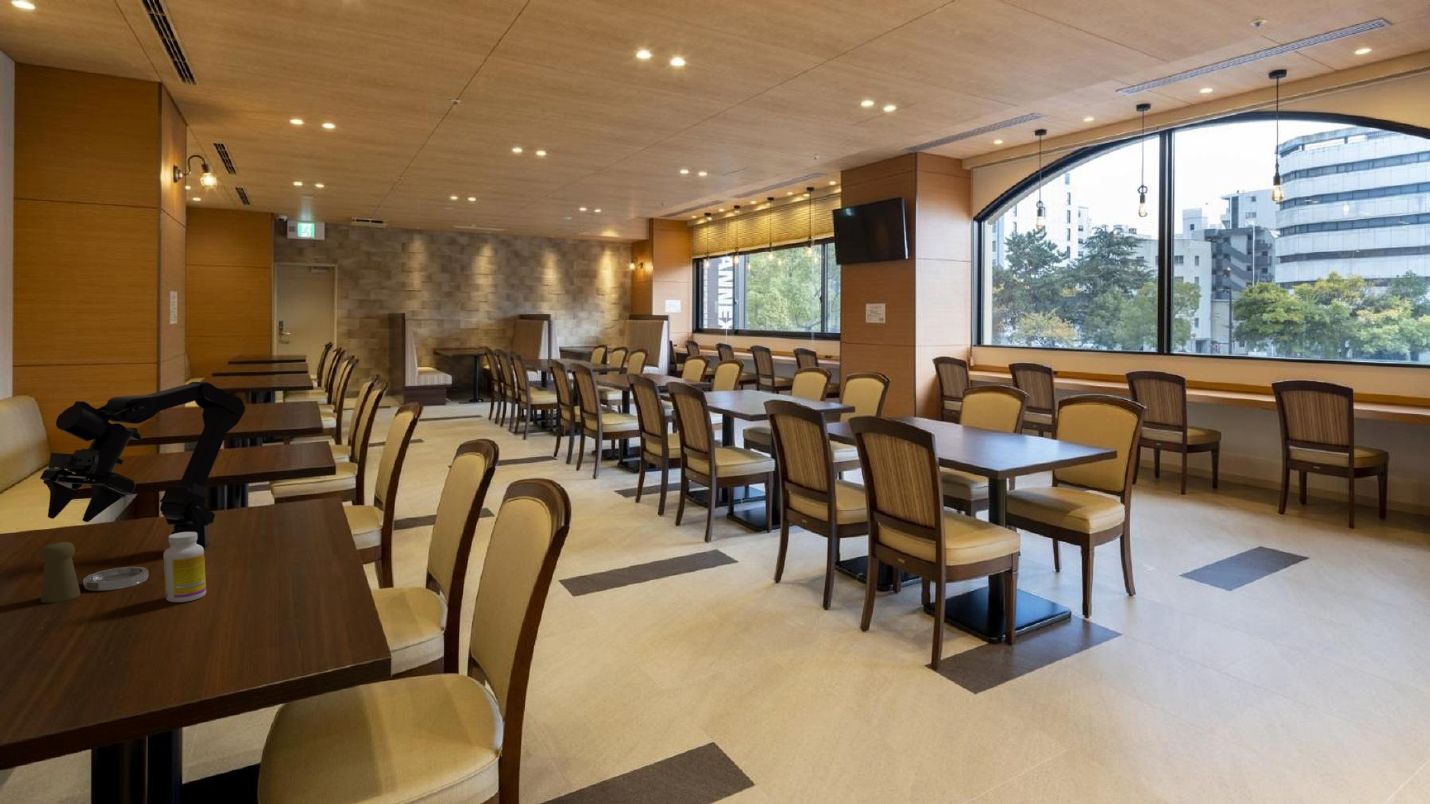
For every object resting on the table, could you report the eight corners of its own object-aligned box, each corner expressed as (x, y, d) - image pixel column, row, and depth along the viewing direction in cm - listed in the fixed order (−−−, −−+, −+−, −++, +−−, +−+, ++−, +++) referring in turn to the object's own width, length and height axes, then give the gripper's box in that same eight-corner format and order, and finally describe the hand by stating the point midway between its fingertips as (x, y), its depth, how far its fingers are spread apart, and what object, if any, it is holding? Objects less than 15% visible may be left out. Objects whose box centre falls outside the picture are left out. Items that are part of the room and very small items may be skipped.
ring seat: (154, 572, 167) (154, 564, 167) (138, 587, 157) (137, 579, 157) (96, 577, 163) (95, 569, 163) (75, 593, 154) (75, 585, 153)
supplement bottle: (214, 594, 154) (211, 532, 153) (182, 605, 148) (178, 540, 147) (190, 590, 156) (187, 528, 155) (157, 600, 150) (154, 537, 149)
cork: (57, 603, 148) (53, 548, 147) (32, 601, 149) (28, 546, 148) (88, 593, 154) (85, 540, 153) (64, 590, 155) (60, 538, 154)
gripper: (36, 432, 159) (-7, 502, 152) (106, 436, 154) (66, 509, 147) (84, 453, 168) (47, 521, 161) (152, 458, 164) (116, 528, 157)
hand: (67, 519), depth 156 cm, fingers open, 9 cm apart
